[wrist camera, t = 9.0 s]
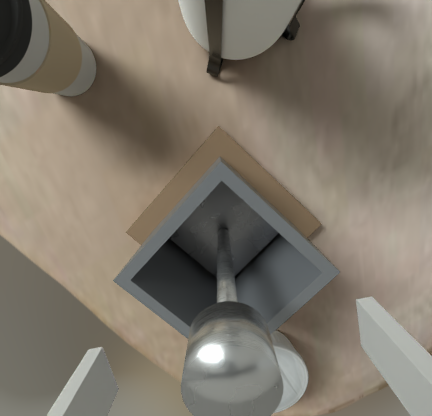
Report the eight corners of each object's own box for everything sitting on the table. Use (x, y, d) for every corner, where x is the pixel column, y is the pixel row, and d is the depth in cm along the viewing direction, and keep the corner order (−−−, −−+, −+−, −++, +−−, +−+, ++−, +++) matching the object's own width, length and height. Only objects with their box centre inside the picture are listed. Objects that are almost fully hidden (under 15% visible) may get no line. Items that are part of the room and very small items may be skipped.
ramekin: (310, 335, 39) (324, 363, 34) (277, 390, 41) (286, 425, 36) (241, 309, 38) (245, 334, 33) (213, 367, 40) (212, 399, 35)
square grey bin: (218, 126, 32) (218, 110, 18) (317, 220, 35) (384, 270, 21) (129, 228, 35) (70, 282, 21) (226, 308, 38) (231, 403, 24)
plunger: (220, 177, 31) (225, 240, 10) (278, 229, 32) (392, 384, 11) (168, 234, 32) (75, 394, 11) (225, 282, 34) (236, 503, 13)
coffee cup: (118, 89, 31) (30, 39, 17) (52, 117, 32) (-86, 92, 18) (83, 10, 30) (-48, -126, 15) (15, 41, 30) (-174, -58, 16)
